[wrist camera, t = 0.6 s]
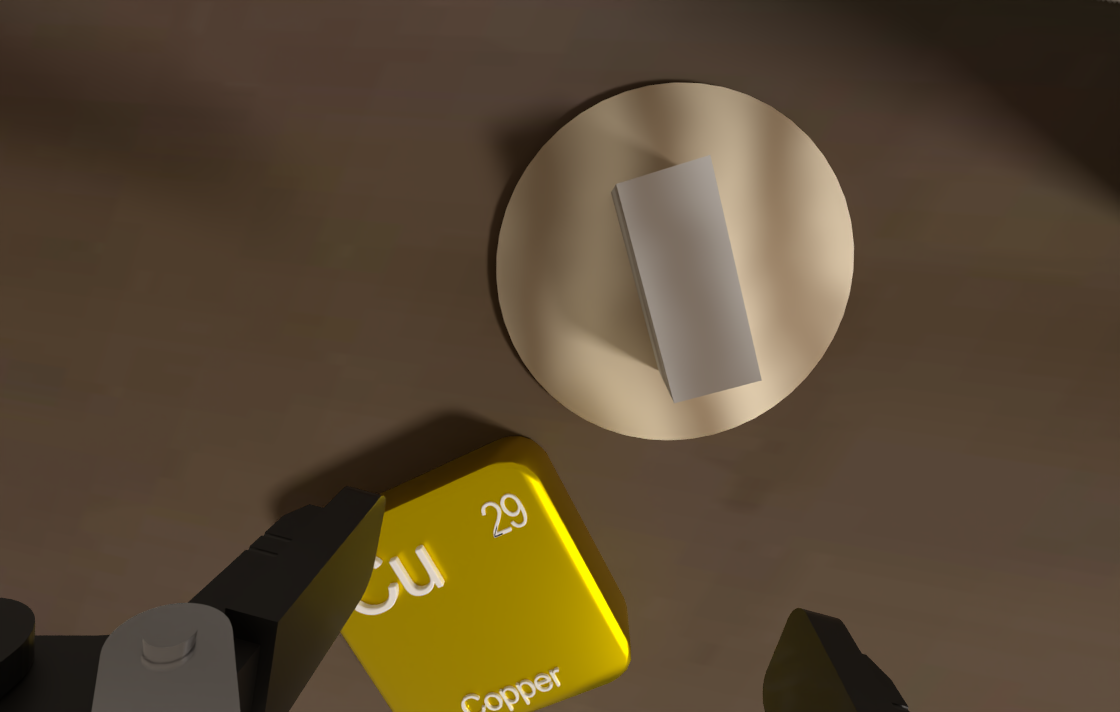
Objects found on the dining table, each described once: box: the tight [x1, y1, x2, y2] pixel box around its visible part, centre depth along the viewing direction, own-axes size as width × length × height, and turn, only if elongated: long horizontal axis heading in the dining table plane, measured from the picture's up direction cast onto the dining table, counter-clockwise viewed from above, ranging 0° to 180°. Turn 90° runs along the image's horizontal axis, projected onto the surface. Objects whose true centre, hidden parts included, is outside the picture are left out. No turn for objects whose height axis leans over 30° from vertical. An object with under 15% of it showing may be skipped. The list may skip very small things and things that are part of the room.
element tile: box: [340, 436, 631, 712], centre depth 34 cm, size 15×15×5 cm
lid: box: [496, 83, 854, 440], centre depth 28 cm, size 19×19×7 cm
